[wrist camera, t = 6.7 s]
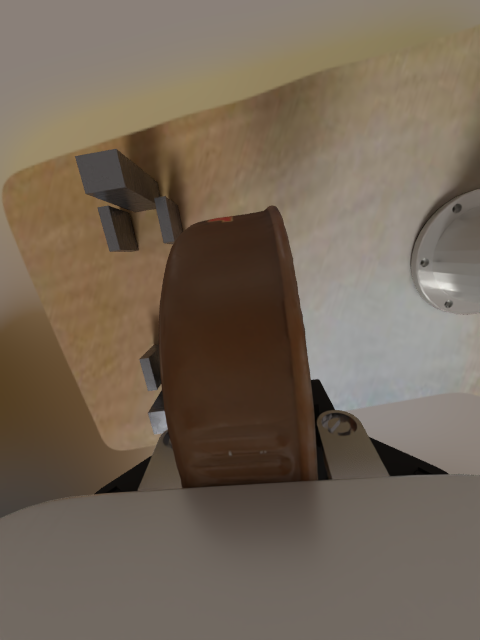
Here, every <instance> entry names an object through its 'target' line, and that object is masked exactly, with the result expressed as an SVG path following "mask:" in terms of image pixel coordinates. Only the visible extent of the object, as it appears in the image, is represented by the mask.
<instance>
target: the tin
mask: <svg viewBox="0 0 480 640" xmlns="http://www.w3.org/2000/svg"><path fill="white" fill-rule="evenodd" d="M159 355H160V374H161V384H162V392H163V400H164V410H165V417H166V423H167V429H168V432H169V436H170V440H171V444H172V448H173V452H174V457H175V461H176V465H177V469H178V472H179V475H180V478H181V484H182V488H196V487H212V486H228V485H245V484H262V483H279V482H296V481H314V480H318V473H317V451H316V433H315V417H314V405H313V396H312V387H311V379H310V370H309V363H308V356H307V348H306V339H305V328H304V324H303V315H302V312H301V308H300V299H299V295H298V287H297V281H296V277H295V270H294V265H293V257H292V253H291V250H290V245H289V240H288V236H287V233H286V229H285V226H284V222H283V218H282V216H281V214H280V212H279V210H278V208H277V207H275V206H269V207H268V208H267V209H266V210H265V211H261V212H256V213H250V214H245V215H238V216H230V217H223V218H215V219H211V220H206V221H202V222H198V223H195V224H193V225H191V226H190V227H189V228H187V229H186V230H185V231H183V232H182V233H181V234H180V235H179V237H178V238H177V239H176V240H175V242H174V244H173V246H172V248H171V251H170V254H169V257H168V260H167V264H166V268H165V273H164V278H163V285H162V292H161V300H160V312H159Z"/></svg>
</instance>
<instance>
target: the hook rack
mask: <svg viewBox="0 0 480 640" xmlns="http://www.w3.org/2000/svg"><path fill="white" fill-rule="evenodd" d="M75 158H76V161H77V165H78V168H79V172H80V175H81V179H82V182H83V186H84V190H85V193H86V194H87V195H90V196H93V197H96V198H98V199H101V200H104V201H106V202H109V203H112V204H114V205H117V206H120V207H122V208H125V209H128V210H130V211H133V212H139V211H145V210H151V209H157V214H158V218H159V223H160V228H161V232H162V237H163V241H164V243H167V244H174V242H175V240H176V239H177V238H178V237H179V235H180V234H181V233H182V232H183V230H182V225H181V220H180V214H179V209H178V205H177V204H175V203H174V202H173V201H171V200H170V199H168V198H167V197H166V196H164V197H160V192H159V188H158V183H157V181H155V180H154V179H153V178H152V177H150V176H149V175H148V174H147V173H145V172H144V171H143V170H142V169H141V168H139V167H138V166H137V165H136V164H134V163H133V162H132V161H131V160H129V159H128V158H127V157H126V156H124V155H123V154H122V153H121V152H119V151H118V150H117V149H113V150H107V151H102V152H96V153H91V154H85V155H80V156H75ZM98 211H99V215H100V218H101V222H102V226H103V229H104V233H105V236H106V240H107V244H108V247H109V251H110V252H131V251H138V246H137V242H136V238H135V234H134V230H133V226H132V222H131V218H130V214H129V213H128V212H125V211H122V210H119V209H116V208H113V207H110V206H104V207H98ZM140 363H141V367H142V370H143V374H144V377H145V381H146V385H147V388H148V391H152V390H157V389H158V388H159V386H160V385H161V374H160V355H159V345H153V346H152V347H151V348H150V349H149V350H148V351H147V352H146V353H145V354H144V355H143V356H142V357H141V358H140ZM148 414H149V418H150V421H151V425H152V429H153V432H154V434H161V433H164V432H165V431H166V430H167V423H166V417H165V410H164V400H163V392H162V391H161V392H160V394H159V396H158V397H157V399H156V401H155V402H154V404H153V405H152V407H151V409H150V410H149V412H148Z"/></svg>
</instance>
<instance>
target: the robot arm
mask: <svg viewBox="0 0 480 640" xmlns="http://www.w3.org/2000/svg"><path fill="white" fill-rule="evenodd" d="M411 272H412V279H413V282H414V285H415V287H416V289H417V291H418V292H419V294H420V296H421V297H422V298H423V299H424V300H425V301H426V302H427V303H429V304H430V305H432V306H433V307H435V308H437V309H440V310H443V311H445V312H450V313H454V314H463V315H469V314H477V313H480V189H477V190H473V191H470V192H467V193H464V194H461V195H459V196H458V197H456V198H454V199H452V200H450V201H449V202H447V203H446V204H445V205H444V206H442V207H441V208H440V209H438V210H437V211H436V212H435V214H434V215H433V216H432V217H431V218H430V219H429V220H428V221H427V223H426V224H425V226H424V227H423V229H422V230H421V232H420V234H419V236H418V238H417V240H416V242H415V246H414V249H413V253H412V260H411ZM311 387H312V396H313V405H314V417H315V433H316V451H317V473H318V480H314V481H296V482H279V483H262V484H245V485H228V486H212V487H196V488H182V484H181V478H180V475H179V472H178V469H177V465H176V461H175V457H174V452H173V448H172V444H171V440H170V436H169V432H168V429H167V430H166V431H165V432H164V433H163V434H162V435H161V437H160V438H159V440H158V443H157V445H156V448H155V450H154V452H153V455H152V456H150V457H149V458H147V459H146V460H144V461H143V462H141V463H140V464H138V465H136V466H135V467H134V468H132V469H130V470H129V471H127V472H126V473H124V474H123V475H121V476H120V477H118V478H116V479H115V480H113V481H112V482H110V483H109V484H107V485H106V486H104V487H103V488H101V489H100V490H99V491H97V492H96V493H95V494H94V495H85V496H75V497H67V498H62V499H56V500H51V501H48V502H44V503H40V504H37V505H33V506H30V507H27V508H24V509H22V510H19V511H17V512H14V513H11V514H9V515H7V516H4V517H2V518H0V640H480V475H464V474H448V473H447V472H445V471H443V470H441V469H439V468H437V467H435V466H433V465H430V464H429V463H427V462H424V461H422V460H420V459H418V458H415V457H413V456H410V455H409V454H406V453H404V452H402V451H399V450H397V449H395V448H393V447H390V446H388V445H386V444H384V443H381V442H379V441H377V440H375V439H372V438H370V437H368V435H367V433H366V431H365V429H364V427H363V425H362V423H361V422H360V421H359V419H358V418H356V417H355V416H354V415H352V414H350V413H348V412H345V411H340V410H335V409H334V407H333V405H332V403H331V401H330V399H329V397H328V395H327V393H326V392H325V390H324V388H323V386H322V384H321V382H320V380H319V379H316V380H311Z"/></svg>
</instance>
